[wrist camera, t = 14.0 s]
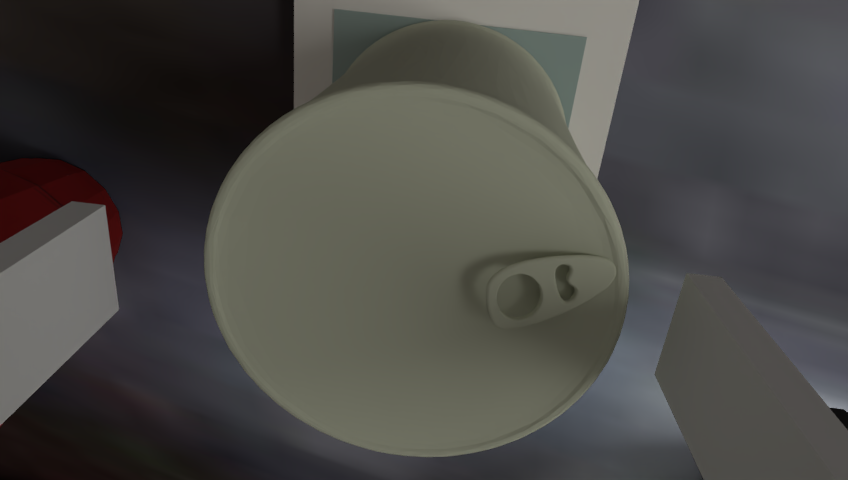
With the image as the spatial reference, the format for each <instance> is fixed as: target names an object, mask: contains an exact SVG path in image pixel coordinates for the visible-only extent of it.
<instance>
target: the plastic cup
mask: <svg viewBox="0 0 848 480" xmlns="http://www.w3.org/2000/svg"><path fill="white" fill-rule="evenodd" d="M71 201H74V202H82V203H91V204H100V205H105V208H106V215H107V223H108V230H109V238H110V245H111V253H112V260H113V262H114V258H115V256H116V254H117V253H118V250H119V246H120V242H121V238H122V234H123V233H122V228H121V222H120V217H119V212H118V210H117V208H116V206H115V205H114V203H113V201H112V200H111V198H110V196H109V195H108V193H107V191H106V190H105V189H104V188H103V187H102V186H101V185H100V184H99V183H98V182H97V181H95V180H94V179H93V178H92V177H91V176H90V175H89V174H88V173H86V172H85V171H84V170H82V169H79V168H77V167H75V166H73V165H70V164H68V163H66V162H64V161H62V160H55V159H42V158H34V159H29V158H21V159H16V160H12V161H7V162H2V163H0V243H1V242H3V241H5V240H6V239H8V238H10V237H12V236H13V235H15V234H17V233H18V232H20V231H22V230H24V229H25V228H27V227H29V226H30V225H32V224H34V223H36V222H37V221H39V220H41V219H42V218H44V217H46V216H48V215H49V214H51V213H53V212H54V211H56V210H58V209H59V208H61V207H63V206H65V205H66V204H68V203H70V202H71ZM3 423H4V422H3ZM3 423H2V424H3ZM2 424H1V425H2ZM1 425H0V427H1Z"/></svg>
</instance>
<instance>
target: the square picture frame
mask: <svg viewBox="0 0 848 480" xmlns="http://www.w3.org/2000/svg"><path fill="white" fill-rule="evenodd" d="M638 4H639V0H294V109H295V108H297V107H298V106H301V105H303V104H305V103H307V102H309V101H310V100H312V99H313V98H315V97H316V96H317V95H319V94H320V93H321V92H323V91H324V90H325V89H326V88H328V87H329V86H330V85H331V84H332V83H334V82H335V81H336V80H337V79H339V78H340V77H341V76H342V75H344V74H345V73H346V71H347V70H348V68H349V67H350V66H351V64H352V63H353V62H354V61H355V60H356V59H357V58H358V57H359V56H360V55H361V54H362V53H363V52H364V51H365V50H366V49H367V48H368V47H370V46H371V45H372V44H374V43H375V42H376V41H378V40H379V39H381V38H382V37H384V36H386V35H388V34H390V33H392V32H394V31H396V30H398V29H401V28H403V27H406V26H409V25H413V24H417V23H422V22H427V21H438V20H455V21H464V22H469V23H473V24H477V25H481V26H484V27H487V28H490V29H492V30H495V31H497V32H499V33H501V34H503V35H505V36H507V37H508V38H510V39H511V40H513V41H514V42H516V43H517V44H519V45H520V46H521V47H523V48H524V49H525V50H526V51H527V52H528V53H530V54H531V55H532V56H533V57H534V59H535V60H536V61H537V62H538V63H539V64H540V65H541V66H542V68H543V69H544V71H545V72H546V73H547V75H548V76H549V78H550V79H551V81H552V83H553V85H554V87H555V89H556V91H557V93H558V96H559V98H560V101H561V104H562V107H563V110H564V115H565V120H566V125H567V127H568V129H569V131H570V133H571V135H572V138H573V140H574V142H575V144H576V146H577V148H578V150H579V152H580V154H581V156H582V157H583V159H584V161H585V163H586V165H587V166H588V167H589V169H590V170H591V171H592V172H593V174H594V175H595V177H596V178H598V173H599V169H600V165H601V161H602V156H603V152H604V148H605V144H606V139H607V135H608V131H609V127H610V122H611V118H612V114H613V110H614V105H615V101H616V97H617V93H618V88H619V84H620V80H621V76H622V71H623V67H624V63H625V59H626V54H627V50H628V46H629V42H630V38H631V33H632V29H633V25H634V21H635V16H636V12H637V8H638Z"/></svg>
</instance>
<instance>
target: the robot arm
mask: <svg viewBox="0 0 848 480" xmlns="http://www.w3.org/2000/svg"><path fill="white" fill-rule="evenodd" d="M118 310H119V305H118V298H117V290H116V283H115V275H114V268H113V260H112V253H111V245H110V238H109V230H108V223H107V215H106V208H105V205H100V204H91V203H82V202H74V201H71V202H70V203H68V204H66V205H65V206H63V207H61V208H59V209H58V210H56V211H54V212H53V213H51V214H49V215H48V216H46V217H44V218H42V219H41V220H39V221H37V222H36V223H34V224H32V225H30V226H29V227H27V228H25V229H24V230H22V231H20V232H18V233H17V234H15V235H13V236H12V237H10V238H8V239H6V240H5V241H3V242H1V243H0V425H1V424H2V423H3V422H4V421H5V420H6V419H7V418H8V417H9V416H10V415H11V414H12V413H14V412H15V411H16V410H17V409H18V408H19V407H20V406H21V405H22V404H23V403H24V402H25V401H26V400H27V399H28V398H29V397H30V396H31V395H32V394H33V393H34V392H35V391H36V390H37V389H38V388H39V387H40V386H41V385H42V384H43V383H44V382H45V381H46V380H47V379H48V378H49V377H50V376H51V375H52V374H54V373H55V372H56V371H57V370H58V369H59V368H60V367H61V366H62V365H63V364H64V363H65V362H66V361H67V360H68V359H69V358H70V357H71V356H72V355H73V354H74V353H75V352H76V351H77V350H78V349H79V348H80V347H81V346H82V345H83V344H84V343H85V342H86V341H87V340H88V339H89V338H90V337H91V336H92V335H93V334H95V333H96V332H97V331H98V330H99V329H100V328H101V327H102V326H103V325H104V324H105V323H106V322H107V321H108V320H109V319H110V318H111V317H112V316H113V315H114V314H115V313H116V312H117V311H118ZM655 376H656V378H657V380H658V382H659V385H660V387H661V389H662V391H663V393H664V395H665V398H666V400H667V402H668V404H669V406H670V408H671V410H672V413H673V415H674V417H675V419H676V421H677V423H678V426H679V428H680V430H681V432H682V434H683V436H684V439H685V441H686V443H687V445H688V447H689V449H690V451H691V454H692V456H693V458H694V460H695V462H696V464H697V467H698V469H699V471H700V473H701V475H702V477H703V480H848V412H846V411H845V410H844V409H836V408H829V407H828V406H827V405H826V403H825V402H824V401H823V400H822V398H821V397H820V396H819V395H818V394H817V392H816V391H815V390H814V389H813V388H812V386H811V385H810V384H809V383H808V382H807V380H806V379H805V378H804V377H803V375H802V374H801V373H800V372H799V371H798V369H797V368H796V367H795V366H794V365H793V363H792V362H791V361H790V360H789V359H788V357H787V356H786V355H785V354H784V352H783V351H782V350H781V349H780V348H779V346H778V345H777V344H776V343H775V342H774V340H773V339H772V338H771V337H770V336H769V334H768V333H767V332H766V331H765V330H764V328H763V327H762V326H761V325H760V323H759V322H758V321H757V320H756V319H755V317H754V316H753V315H752V314H751V313H750V311H749V310H748V309H747V308H746V307H745V305H744V304H743V303H742V302H741V300H740V299H739V298H738V297H737V296H736V294H735V293H734V292H733V291H732V290H731V288H730V287H729V286H728V285H727V284H726V282H725V281H724V280H723V279H722V277H715V276H706V275H698V274H689V273H687V274H686V277H685V280H684V283H683V286H682V289H681V293H680V296H679V299H678V302H677V305H676V308H675V311H674V315H673V318H672V321H671V324H670V327H669V330H668V333H667V337H666V340H665V343H664V346H663V349H662V352H661V355H660V359H659V362H658V365H657V368H656V371H655Z"/></svg>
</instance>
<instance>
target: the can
mask: <svg viewBox="0 0 848 480" xmlns="http://www.w3.org/2000/svg"><path fill="white" fill-rule="evenodd" d="M204 271H205V280H206V285H207V291H208V296H209V301H210V304H211V308H212V311H213V315H214V317H215V319H216V322H217V324H218V326H219V329H220V331H221V333H222V335H223V337H224V339H225V341H226V343H227V345H228V347H229V349H230V350H231V352H232V353H233V354H234V356H235V357H236V359H237V360H238V362H239V363H240V365H241V366H242V368H243V369H244V370H245V372H246V373H247V374H248V375H249V376H250V377H251V378H252V380H253V381H254V382H255V383H256V384H257V385H258V386H259V387H260V388H261V389H262V390H263V391H264V392H265V393H266V394H267V395H268V396H269V397H270V398H272V399H273V400H274V401H275V402H276V403H277V404H278V405H280V406H281V407H282V408H284V409H285V410H286V411H288V412H289V413H290V414H292V415H293V416H295V417H296V418H298V419H300V420H301V421H303V422H305V423H306V424H308V425H310V426H312V427H313V428H315V429H317V430H318V431H321V432H323V433H325V434H327V435H330V436H332V437H334V438H336V439H338V440H341V441H344V442H347V443H350V444H352V445H355V446H359V447H363V448H366V449H370V450H373V451H378V452H382V453H388V454H395V455H402V456H416V457H447V456H456V455H463V454H469V453H475V452H480V451H484V450H488V449H492V448H495V447H499V446H501V445H504V444H507V443H510V442H512V441H515V440H518V439H520V438H522V437H524V436H526V435H528V434H530V433H532V432H534V431H536V430H538V429H540V428H542V427H543V426H545V425H547V424H548V423H550V422H551V421H552V420H554V419H555V418H557V417H558V416H560V415H561V414H562V413H564V412H565V411H566V410H567V409H568V408H569V407H571V406H572V405H573V404H574V403H575V402H576V401H577V400H578V399H579V398H580V397H581V396H582V395H583V394H584V393H585V392H586V391H587V390H588V388H589V387H590V386H591V385H592V384H593V383H594V381H595V380H596V378H597V377H598V376H599V374H600V373H601V371H602V370H603V368H604V367H605V365H606V364H607V362H608V360H609V358H610V356H611V355H612V353H613V350H614V348H615V345H616V343H617V341H618V338H619V336H620V333H621V329H622V326H623V322H624V319H625V314H626V308H627V303H628V295H629V268H628V257H627V251H626V245H625V242H624V238H623V234H622V229H621V226H620V224H619V221H618V218H617V216H616V213H615V211H614V208H613V206H612V204H611V202H610V200H609V198H608V196H607V194H606V193H605V191H604V189H603V188H602V186H601V184H600V183H599V181H598V180H597V178H596V177H595V175H594V174H593V172H592V171H591V170H590V169H589V167H588V166H587V165H586V163H585V161H584V159H583V157H582V156H581V154H580V152H579V150H578V148H577V146H576V144H575V142H574V140H573V138H572V135H571V133H570V131H569V129H568V127H567V125H566V120H565V115H564V110H563V107H562V104H561V101H560V98H559V96H558V93H557V91H556V89H555V87H554V85H553V83H552V81H551V79H550V78H549V76H548V75H547V73H546V72H545V71H544V69H543V68H542V66H541V65H540V64H539V63H538V62H537V61H536V60H535V59H534V57H533V56H532V55H531V54H530V53H528V52H527V51H526V50H525V49H524V48H523V47H521V46H520V45H519V44H517V43H516V42H514V41H513V40H511V39H510V38H508V37H507V36H505V35H503V34H501V33H499V32H497V31H495V30H492V29H490V28H487V27H484V26H481V25H477V24H473V23H469V22H464V21H455V20H438V21H427V22H422V23H417V24H413V25H409V26H406V27H403V28H401V29H398V30H396V31H394V32H392V33H390V34H388V35H386V36H384V37H382V38H381V39H379V40H378V41H376V42H375V43H374V44H372V45H371V46H370V47H368V48H367V49H366V50H365V51H364V52H363V53H362V54H361V55H360V56H359V57H358V58H357V59H356V60H355V61H354V62H353V63H352V64H351V66H350V67H349V68H348V70H347V71H346V73H345V74H344V75H342V76H341V77H340V78H339V79H337V80H336V81H335V82H334V83H332V84H331V85H330V86H329V87H328V88H326V89H325V90H324V91H323V92H321V93H320V94H319V95H317V96H316V97H315V98H313V99H312V100H310V101H309V102H307V103H305V104H303V105H301V106H298V107H297V108H295V109H293V110H292V111H290V112H288V113H287V114H285V115H283V116H282V117H281V118H279V119H278V120H276V121H275V122H274V123H272V124H271V125H269V126H268V127H267V128H266V129H265V130H264V131H263V132H262V133H260V134H259V135H258V136H257V137H256V138H255V139H254V140H253V141H252V142H251V143H250V144H249V145H248V146H247V148H246V149H245V150H244V151H243V152H242V153H241V155H240V156H239V157H238V159H237V160H236V162H235V163H234V164H233V166H232V167H231V169H230V170H229V172H228V173H227V175H226V177H225V179H224V181H223V183H222V185H221V187H220V189H219V191H218V194H217V196H216V198H215V201H214V204H213V206H212V209H211V212H210V216H209V221H208V225H207V229H206V237H205V247H204Z"/></svg>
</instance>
